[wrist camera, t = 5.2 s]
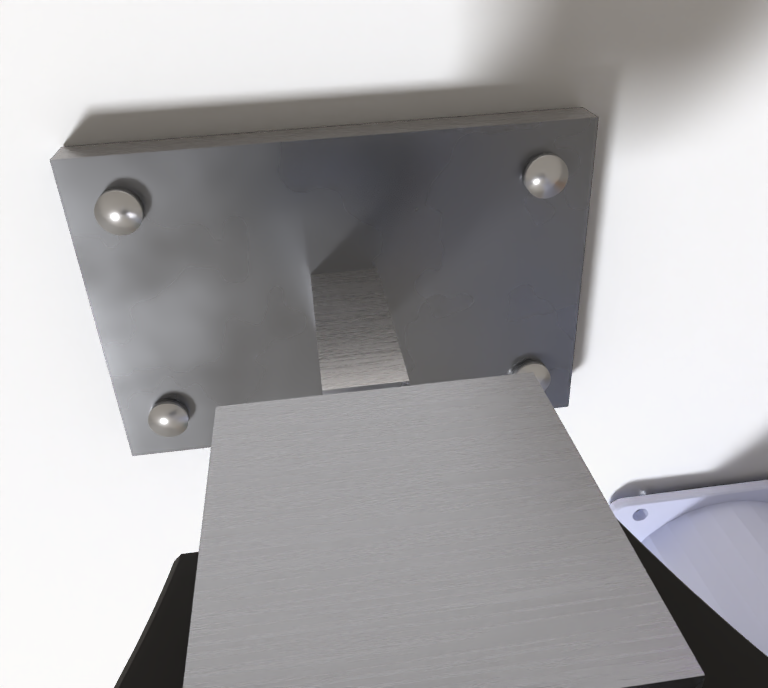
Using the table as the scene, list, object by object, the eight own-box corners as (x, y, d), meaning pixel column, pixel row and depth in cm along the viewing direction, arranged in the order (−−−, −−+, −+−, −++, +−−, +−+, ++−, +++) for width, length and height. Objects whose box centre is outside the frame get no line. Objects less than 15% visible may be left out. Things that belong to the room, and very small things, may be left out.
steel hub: (533, 371, 11) (705, 675, 6) (517, 588, 13) (635, 915, 9) (215, 406, 10) (174, 754, 6) (258, 623, 13) (250, 984, 8)
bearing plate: (582, 107, 17) (711, 187, 12) (556, 386, 21) (645, 535, 16) (61, 147, 16) (-36, 253, 11) (138, 433, 20) (93, 607, 15)
